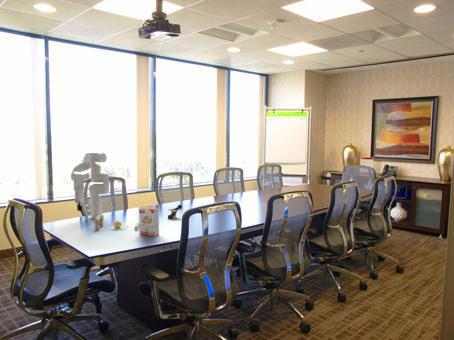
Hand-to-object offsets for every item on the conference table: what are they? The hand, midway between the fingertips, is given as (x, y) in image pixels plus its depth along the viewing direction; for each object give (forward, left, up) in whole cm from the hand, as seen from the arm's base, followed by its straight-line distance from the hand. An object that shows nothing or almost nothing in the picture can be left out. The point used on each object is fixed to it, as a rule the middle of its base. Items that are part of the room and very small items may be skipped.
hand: (79, 210), depth 297 cm
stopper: (0, +46, -15) cm, 48 cm away
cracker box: (+25, +58, -15) cm, 65 cm away
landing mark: (0, +31, -15) cm, 34 cm away
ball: (+1, +30, -12) cm, 32 cm away
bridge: (0, +15, -15) cm, 21 cm away
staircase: (-30, +76, -16) cm, 83 cm away
